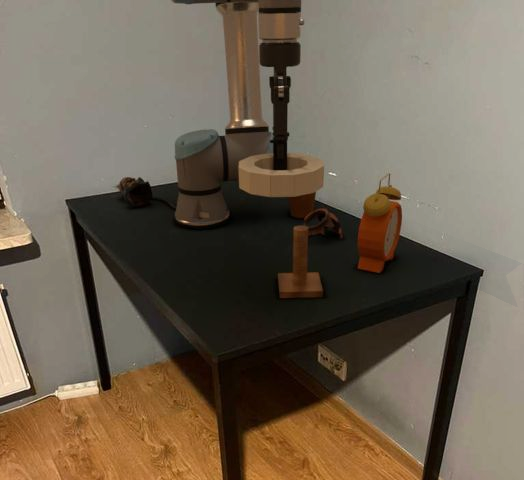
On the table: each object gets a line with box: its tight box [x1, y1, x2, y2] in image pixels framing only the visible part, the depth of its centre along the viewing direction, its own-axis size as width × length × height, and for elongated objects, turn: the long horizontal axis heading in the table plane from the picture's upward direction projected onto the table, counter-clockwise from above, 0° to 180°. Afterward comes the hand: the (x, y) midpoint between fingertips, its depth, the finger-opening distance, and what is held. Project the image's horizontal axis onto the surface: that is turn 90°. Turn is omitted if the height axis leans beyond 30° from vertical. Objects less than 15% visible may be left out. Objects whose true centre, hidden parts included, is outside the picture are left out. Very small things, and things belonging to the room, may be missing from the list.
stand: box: [277, 225, 324, 299], centre depth 114 cm, size 9×9×14 cm
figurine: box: [117, 176, 153, 209], centre depth 167 cm, size 9×8×15 cm
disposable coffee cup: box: [288, 191, 317, 219], centre depth 154 cm, size 10×10×12 cm
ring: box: [238, 152, 325, 198], centre depth 105 cm, size 16×16×4 cm
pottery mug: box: [302, 207, 343, 240], centre depth 142 cm, size 12×10×8 cm
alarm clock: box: [357, 173, 403, 274], centre depth 123 cm, size 13×6×20 cm, turn 151°
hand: (279, 173), depth 111 cm, fingers closed on ring, 3 cm apart
